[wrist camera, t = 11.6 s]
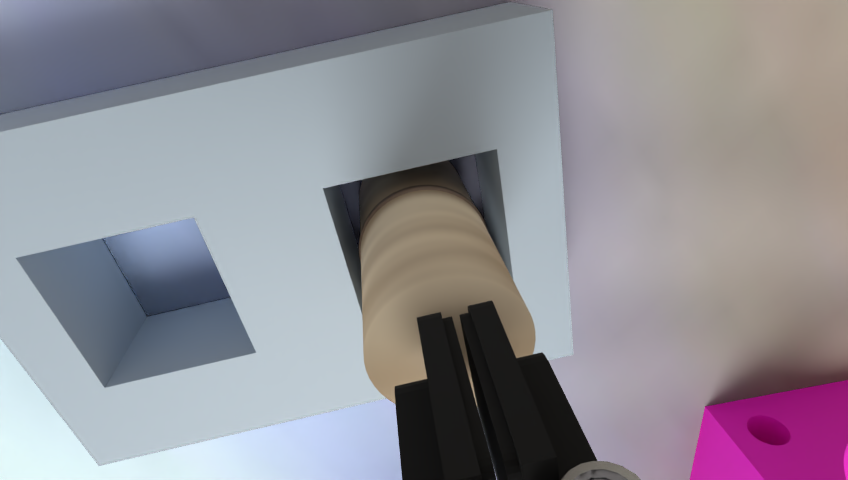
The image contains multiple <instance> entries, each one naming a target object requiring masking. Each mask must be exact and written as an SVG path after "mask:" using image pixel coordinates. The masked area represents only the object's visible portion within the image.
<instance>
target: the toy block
mask: <svg viewBox="0 0 848 480" xmlns="http://www.w3.org/2000/svg"><path fill="white" fill-rule="evenodd" d="M690 480H848V380H845V381H839V382H834V383H829V384H823V385H818V386H813V387H807V388H802V389H797V390H791V391H786V392H781V393H775V394H770V395H764V396H759V397H754V398H748V399H743V400H738V401H732V402H727V403H722V404H716V405H711V406H705V410H704V415H703V419H702V424H701V429H700V434H699V438H698V443H697V448H696V453H695V457H694V462H693V467H692V472H691V477H690Z"/></svg>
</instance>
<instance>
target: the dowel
mask: <svg viewBox="0 0 848 480" xmlns="http://www.w3.org/2000/svg"><path fill="white" fill-rule="evenodd" d="M359 206H360V238H359V257H360V261H361V282H362V320H363V355H364V364H365V368H366V372H367V374H368V376H369V379H370V380H371V382H372V383H373V385H374V386H375V388H376V389H377V390H378V391H379V392H380V393H381V394H382V395H383V396H385V397H386V398H387V399H388V400H390V401H392V402H393V403H395V390H394V389H395V386H398V385H402V384H406V383H411V382H415V381H419V380H424V379H427V375H426V369H425V364H424V358H423V352H422V346H421V341H420V335H419V329H418V323H417V317H421V316H425V315H430V314H434V313H439V312H441V315H442V318H447V317H451V316H452V318H453V322H454V326H455V329H456V333H457V336H458V340H459V344H460V347H461V351H462V354H463V358H464V362H465V365H466V369H467V372H468V376H469V380H470V383H471V387H472V390H473V394H474V398H475V392H474V387H473V382H472V377H471V372H470V367H469V362H468V357H467V351H466V346H465V341H464V336H463V331H462V326H461V321H460V314H464V313H468V306H469V305H474V304H478V303H482V302H487V301H491V300H492V301H493V303H494V305H495V308H496V310H497V313H498V315H499V317H500V320H501V322H502V325H503V327H504V330H505V332H506V334H507V337H508V339H509V342H510V344H511V346H512V349H513V351H514V354H515V356H516V358H519V357H524V356H528V355H532V354H533V352H534V348H535V341H536V335H535V326H534V322H533V319H532V316H531V314H530V312H529V310H528V308H527V306H526V304H525V302H524V300H523V298H522V296H521V295H520V293H519V291H518V289H517V287H516V285H515V283H514V281H513V279H512V277H511V275H510V273H509V271H508V269H507V267H506V266H505V264H504V262H503V260H502V258H501V256H500V254H499V252H498V250H497V248H496V246H495V244H494V242H493V240H492V238H491V237H490V235H489V233H488V231H487V227H486V224H485V222H484V220H483V218H482V216H481V214H480V212H479V211H478V209H477V208H476V207H475V205H474V204H473V202H472V200H471V198H470V196H469V194H468V192H467V190H466V188H465V186H464V184H463V182H462V181H461V179H460V177H459V175H458V173H457V171H456V169H455V168H454V167H453V165H452V164H451V163H450V162H449V161H448V160H446V161H442V162H438V163H433V164H429V165H424V166H420V167H415V168H411V169H407V170H402V171H398V172H393V173H389V174H384V175H380V176H376V177H371V178H367V179H363V180H362V183H361V187H360V193H359ZM475 401H476V398H475ZM395 404H396V403H395ZM476 405H477V403H476Z"/></svg>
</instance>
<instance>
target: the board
mask: <svg viewBox="0 0 848 480" xmlns="http://www.w3.org/2000/svg"><path fill="white" fill-rule="evenodd" d="M473 154H475V157H476V164H477V170H478V177H479V184H480V191H481V197H482V204H483V211H484V218H485V224H486V227H487V231H488V233H489V235H490V237H491V238H492V240H493V242H494V244H495V246H496V248H497V250H498V252H499V254H500V256H501V258H502V260H503V262H504V264H505V266H506V267H507V269H508V271H509V273H510V275H511V277H512V279H513V281H514V283H515V285H516V287H517V289H518V291H519V293H520V295H521V296H522V298H523V300H524V302H525V304H526V306H527V308H528V310H529V312H530V314H531V316H532V319H533V322H534V326H535V335H536V341H535V348H534V352H533V354H537V353H541V352H542V353H543V354H544V355H545V356H546V358H547V360H552V359H557V358H561V357H565V356H570V355H573V340H572V324H571V307H570V290H569V274H568V257H567V240H566V224H565V207H564V191H563V174H562V157H561V141H560V124H559V107H558V91H557V74H556V58H555V41H554V24H553V10H551V9H546V8H541V7H535V6H530V5H525V4H520V3H514V2H507V3H503V4H498V5H494V6H489V7H485V8H480V9H476V10H471V11H467V12H462V13H458V14H453V15H449V16H444V17H439V18H435V19H430V20H426V21H421V22H417V23H412V24H408V25H403V26H399V27H394V28H390V29H385V30H381V31H376V32H371V33H367V34H362V35H358V36H353V37H349V38H344V39H340V40H335V41H331V42H326V43H322V44H317V45H313V46H308V47H304V48H299V49H294V50H290V51H285V52H281V53H276V54H272V55H267V56H263V57H258V58H254V59H249V60H245V61H240V62H236V63H231V64H226V65H222V66H217V67H213V68H208V69H204V70H199V71H195V72H190V73H186V74H181V75H177V76H172V77H168V78H163V79H159V80H154V81H149V82H145V83H140V84H136V85H131V86H127V87H122V88H118V89H113V90H109V91H104V92H100V93H95V94H91V95H86V96H81V97H77V98H72V99H68V100H63V101H59V102H54V103H50V104H45V105H41V106H36V107H32V108H27V109H23V110H18V111H14V112H9V113H4V114H0V339H1V340H2V341H3V342H4V344H5V345H6V346H7V348H8V349H9V350H10V351H11V353H12V354H13V355H14V357H15V358H16V359H17V361H18V362H19V363H20V364H21V366H22V367H23V368H24V370H25V371H26V372H27V373H28V375H29V376H30V377H31V379H32V380H33V381H34V383H35V384H36V385H37V386H38V388H39V389H40V390H41V392H42V393H43V394H44V395H45V397H46V398H47V399H48V401H49V402H50V403H51V405H52V406H53V407H54V408H55V410H56V411H57V412H58V414H59V415H60V416H61V417H62V419H63V420H64V421H65V423H66V424H67V425H68V427H69V428H70V429H71V430H72V432H73V433H74V434H75V436H76V437H77V438H78V439H79V441H80V442H81V443H82V445H83V446H84V447H85V449H86V450H87V451H88V452H89V454H90V455H91V456H92V458H93V459H94V460H95V461H96V463H97V464H98V465H99V466H101V465H105V464H109V463H114V462H118V461H122V460H126V459H131V458H135V457H139V456H143V455H148V454H152V453H156V452H160V451H165V450H169V449H173V448H177V447H182V446H186V445H190V444H194V443H199V442H203V441H207V440H212V439H216V438H220V437H224V436H229V435H233V434H237V433H241V432H246V431H250V430H254V429H258V428H263V427H267V426H271V425H275V424H280V423H284V422H288V421H293V420H297V419H301V418H305V417H310V416H314V415H318V414H322V413H327V412H331V411H335V410H339V409H344V408H348V407H352V406H356V405H361V404H365V403H369V402H373V401H378V400H382V399H386V397H385V396H383V395H382V394H381V393H380V392H379V391H378V390H377V389H376V388H375V386H374V385H373V383H372V382H371V380H370V379H369V376H368V374H367V372H366V368H365V364H364V355H363V320H362V282H361V261H360V257H359V249H358V245H357V242H356V238H355V235H354V232H353V228H352V225H351V221H350V218H349V215H348V211H347V208H346V204H345V201H344V198H343V194H342V191H341V187H340V184H345V183H349V182H354V181H358V180H362V179H367V178H371V177H376V176H380V175H384V174H389V173H393V172H398V171H402V170H407V169H411V168H415V167H420V166H424V165H429V164H433V163H438V162H442V161H446V160H451V159H455V158H460V157H464V156H468V155H473ZM190 218H194V219H195V221H196V223H197V225H198V228H199V230H200V232H201V234H202V236H203V238H204V241H205V243H206V245H207V247H208V249H209V251H210V254H211V256H212V258H213V260H214V262H215V264H216V267H217V269H218V271H219V273H220V275H221V277H222V280H223V282H224V284H225V286H226V288H227V290H228V293H229V295H230V297H231V298H226V299H222V300H218V301H213V302H209V303H205V304H200V305H196V306H192V307H187V308H183V309H178V310H174V311H170V312H165V313H161V314H157V315H152V316H148V317H147V316H146V314H145V312H144V311H143V309H142V307H141V305H140V304H139V302H138V300H137V298H136V297H135V295H134V293H133V291H132V290H131V288H130V286H129V284H128V283H127V281H126V279H125V277H124V276H123V274H122V272H121V270H120V269H119V267H118V265H117V264H116V262H115V260H114V258H113V257H112V255H111V253H110V251H109V250H108V248H107V246H106V244H105V243H104V241H103V239H102V238H106V237H110V236H115V235H119V234H124V233H128V232H132V231H137V230H141V229H146V228H150V227H155V226H159V225H163V224H168V223H172V222H177V221H181V220H186V219H190Z"/></svg>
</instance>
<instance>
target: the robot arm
mask: <svg viewBox="0 0 848 480" xmlns="http://www.w3.org/2000/svg"><path fill="white" fill-rule="evenodd" d="M460 321H461V326H462V331H463V336H464V341H465V346H466V351H467V357H468V362H469V367H470V372H471V377H472V382H473V387H474V392H475V398H476V401H475V398H474V394H473V390H472V387H471V383H470V380H469V376H468V372H467V369H466V365H465V362H464V358H463V354H462V351H461V347H460V344H459V340H458V336H457V333H456V329H455V326H454V322H453V318H452V316H451V317H447V318H442V315H441V312H439V313H434V314H430V315H425V316H421V317H417V323H418V329H419V335H420V341H421V346H422V352H423V358H424V364H425V369H426V375H427V379H424V380H419V381H415V382H411V383H406V384H402V385H398V386H395V389H394V390H395V403H396V414H397V425H398V436H399V447H400V458H401V469H402V480H496V477H497V480H641V479H640V478H639V477H638V476H637V475H636V474H634V473H633V472H631V471H629V470H628V469H626V468H624V467H623V466H620V465H617V464H613V463H610V462H604V461H597V459H596V457H595V455H594V453H593V451H592V449H591V447H590V445H589V443H588V441H587V439H586V437H585V435H584V433H583V431H582V429H581V427H580V425H579V423H578V421H577V419H576V417H575V415H574V412H573V410H572V408H571V406H570V404H569V402H568V400H567V398H566V396H565V394H564V392H563V390H562V388H561V386H560V384H559V382H558V380H557V378H556V376H555V374H554V372H553V370H552V368H551V366H550V364H549V362H548V360H547V358H546V356H545V355H544V354H543V353H542V352H541V353H537V354H532V355H528V356H524V357H519V358H516V356H515V354H514V351H513V349H512V346H511V344H510V342H509V339H508V337H507V334H506V332H505V330H504V327H503V325H502V322H501V320H500V317H499V315H498V313H497V310H496V308H495V305H494V303H493V301H492V300H491V301H487V302H482V303H478V304H474V305H469V306H468V313H464V314H460ZM476 403H477V405H476ZM477 407H478V408H477ZM478 411H479V412H478ZM479 415H480V416H479ZM484 433H485V434H484ZM489 451H490V452H489ZM492 462H493V463H492ZM493 466H494V467H493ZM494 469H495V472H494ZM495 473H496V476H495Z"/></svg>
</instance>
